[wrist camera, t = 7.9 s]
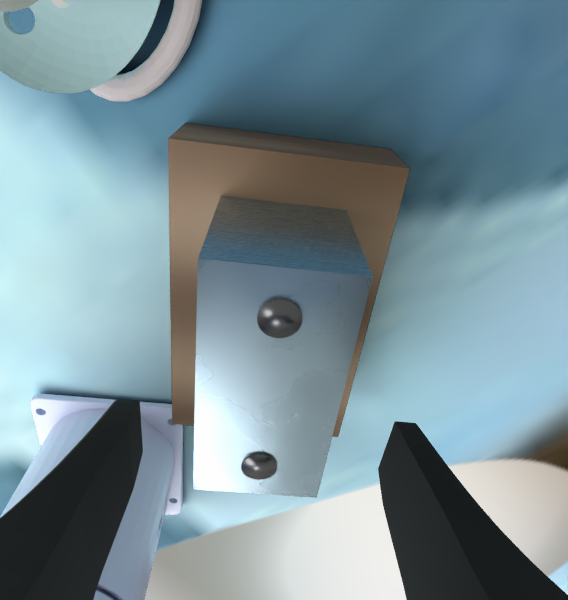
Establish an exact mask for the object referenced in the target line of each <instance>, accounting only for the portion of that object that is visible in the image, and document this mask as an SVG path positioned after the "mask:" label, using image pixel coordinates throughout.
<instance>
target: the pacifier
mask: <svg viewBox="0 0 568 600" xmlns="http://www.w3.org/2000/svg"><path fill="white" fill-rule="evenodd" d="M160 2H161V0H0V70H1V71H3V72H4V73H5V74H6V75H8V76H9V77H10V78H12V79H14V80H16V81H17V82H19V83H21V84H22V85H25V86H28V87H30V88H33V89H36V90H40V91H45V92H51V93H66V94H67V93H77V92H83V91H86V90H89V89H90V90H91V91H92V92H93V93H94V94H95V95H97V96H100V97H102V98H105V99H107V100H110V101H131V100H134V99H137V98H140V97H143V96H146V95H147V94H149V93H150V92H152V91H153V90H154V89H156V88H157V87H159V86H160V85H162V84H163V83H164V81H165V80H166V79H167V78H168V77H169V76H170V75H171V73H172V72H173V71H174V70H175V69H176V68H177V66H178V65H179V63H180V61H181V59H182V58H183V56H184V54H185V52H186V51H187V49H188V47H189V45H190V43H191V40H192V37H193V34H194V32H195V29H196V26H197V23H198V20H199V16H200V10H201V5H202V0H175V1H174V7H173V12H172V15H171V18H170V21H169V24H168V27H167V30H166V32H165V33H164V35H163V37H162V39H161V41H160V43H159V45H158V47H157V48H156V49H155V50H154V52H153V53H152V54H151V55H150V57H149V58H148V59H147V60H146V61H145V62H144V63H142V64H141V65H140V66H139V67H137V68H136V69H135V70H133V71H130V72H128V73H119V72H120V71H121V70H122V69H123V68H124V67H125V66H126V65H127V64H128V63H129V62H130V61H131V59H132V58H133V57H134V55H135V54H136V53H137V52H138V50H139V49H140V47H141V46H142V44H143V43H144V41H145V39H146V37H147V35H148V33H149V31H150V29H151V27H152V25H153V22H154V20H155V17H156V14H157V11H158V8H159V5H160ZM27 7H28V8H30V9H31V11H32V12H33V14H34V17H35V25H34V28H33V29H32V30H31V31H30V32H29V33H27V34H20V33H18V32H16V31H15V30H14V29H13V28H12V27H11V25H10V23H9V20H8V14H9V11H17V10H21V9H24V8H27ZM117 73H118V74H117Z"/></svg>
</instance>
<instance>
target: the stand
mask: <svg viewBox="0 0 568 600" xmlns="http://www.w3.org/2000/svg"><path fill="white" fill-rule="evenodd" d="M168 152H169V227H170V303H171V378H172V424H179V425H192V426H194V413H195V366H196V318H197V270H198V257H199V254H200V251H201V248H202V246H203V243H204V240H205V238H206V235H207V232H208V229H209V227H210V224H211V221H212V218H213V216H214V213H215V210H216V208H217V205H218V202H219V199H220V197H221V196H229V197H237V198H246V199H255V200H264V201H272V202H281V203H290V204H299V205H307V206H316V207H325V208H334V209H343V210H347V212H348V215H349V217H350V220H351V223H352V225H353V228H354V230H355V233H356V235H357V238H358V240H359V243H360V245H361V248H362V250H363V253H364V255H365V258H366V261H367V263H368V266H369V268H370V271H371V273H372V276H373V278H372V282H371V286H370V290H369V294H368V298H367V302H366V306H365V310H364V314H363V318H362V322H361V325H360V329H359V333H358V337H357V341H356V345H355V349H354V353H353V357H352V361H351V365H350V369H349V373H348V376H347V380H346V384H345V388H344V392H343V396H342V400H341V404H340V408H339V412H338V416H337V420H336V424H335V427H334V431H333V435H332V436H333V437H338V436H339V432H340V428H341V425H342V421H343V417H344V413H345V410H346V406H347V402H348V398H349V395H350V391H351V387H352V384H353V380H354V376H355V372H356V369H357V365H358V361H359V357H360V354H361V350H362V346H363V342H364V339H365V335H366V331H367V328H368V324H369V320H370V316H371V313H372V309H373V305H374V301H375V298H376V294H377V290H378V286H379V283H380V279H381V275H382V272H383V268H384V264H385V260H386V257H387V253H388V249H389V245H390V242H391V238H392V234H393V230H394V227H395V223H396V219H397V216H398V212H399V208H400V204H401V201H402V197H403V193H404V189H405V186H406V182H407V178H408V174H409V171H410V168H409V167H408V166H407V165H406V164H405V163H404V162H403V161H402V160H401V159H400V158H399V157H398V156H397V155H396V154H395V153H394V152H393V151H392V150H391V149H387V148H379V147H371V146H364V145H356V144H348V143H340V142H332V141H324V140H316V139H308V138H301V137H293V136H285V135H277V134H269V133H261V132H253V131H245V130H238V129H230V128H222V127H214V126H206V125H198V124H190V123H185V124H184V125H183V126H181V127H180V128H179V129H178V130H177V131H176V132H175V133H174V134H173V135H172V136H170V137H169V138H168Z"/></svg>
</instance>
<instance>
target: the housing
mask: <svg viewBox="0 0 568 600" xmlns="http://www.w3.org/2000/svg"><path fill="white" fill-rule="evenodd" d="M372 278H373V276H372V273H371V271H370V268H369V266H368V263H367V261H366V258H365V255H364V253H363V250H362V248H361V245H360V243H359V240H358V238H357V235H356V233H355V230H354V228H353V225H352V223H351V220H350V217H349V215H348V212H347V210H343V209H334V208H325V207H316V206H307V205H299V204H290V203H281V202H272V201H264V200H255V199H246V198H237V197H229V196H221V197H220V199H219V202H218V205H217V208H216V210H215V213H214V216H213V218H212V221H211V224H210V227H209V229H208V232H207V235H206V238H205V240H204V243H203V246H202V248H201V251H200V254H199V257H198V270H197V318H196V366H195V413H194V461H193V489H196V490H211V491H226V492H241V493H256V494H271V495H286V496H301V497H316V498H317V494H318V490H319V486H320V482H321V478H322V475H323V471H324V467H325V463H326V459H327V455H328V451H329V447H330V443H331V439H332V435H333V431H334V427H335V424H336V420H337V416H338V412H339V408H340V404H341V400H342V396H343V392H344V388H345V384H346V380H347V376H348V373H349V369H350V365H351V361H352V357H353V353H354V349H355V345H356V341H357V337H358V333H359V329H360V325H361V322H362V318H363V314H364V310H365V306H366V302H367V298H368V294H369V290H370V286H371V282H372Z"/></svg>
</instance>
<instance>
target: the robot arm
mask: <svg viewBox="0 0 568 600" xmlns="http://www.w3.org/2000/svg"><path fill="white" fill-rule="evenodd" d="M30 405H31V409H32V414H33V418H34V422H35V426H36V430H37V434H38V438H39V443H40V449H39V451H38V453H37V454H36V456H35V458H34V460H33V461H32V463H31V465H30V466H29V468H28V470H27V472H26V473H25V475H24V477H23V478H22V480H21V482H20V484H19V485H18V487H17V489H16V490H15V492H14V494H13V496H12V497H11V499H10V501H9V502H8V504H7V506H6V508H5V509H4V511H3V513H2V515H1V516H0V600H144V599H145V595H146V591H147V587H148V582H149V578H150V574H151V570H152V566H153V561H154V557H155V553H156V549H157V545H158V541H159V536H160V532H161V528H162V524H163V520H164V516H165V514H173V515H174V514H179V513H180V512H181V510H182V500H183V425H179V424H172V420H171V419H172V404H163V403H151V402H140V401H132V400H119V399H117V400H113V399H101V398H89V397H76V396H64V395H52V394H36V395H34V397H33V398H32V399H31V401H30ZM43 409H44V410H43ZM378 470H379V478H380V486H381V494H382V500H383V506H384V510H385V514H386V518H387V522H388V526H389V530H390V534H391V538H392V542H393V546H394V549H395V553H396V558H397V561H398V565H399V569H400V573H401V577H402V581H403V585H404V589H405V594H406V598H407V600H568V595H567V594H566V593H565V592H564V591H562V590H561V589H560V588H559V587H558V586H557V585H556V584H555V583H554V582H553V581H551V580H550V579H549V578H548V577H547V576H546V575H545V574H544V573H543V572H542V571H541V570H539V568H537V566H535V565H534V564H533V563H532V562H531V561H530V560H529V559H528V558H527V557H526V556H525V555H524V554H523V553H522V552H521V551H520V550H519V548H518V547H516V546H515V544H513V543H512V541H511V540H510V539H509V538H508V537H507V536H506V535H505V534H504V533H503V532H502V531H501V530H500V529H499V528H498V526H496V524H495V523H494V522H493V521H492V520H491V519H490V517H489V516H488V515H487V514H486V513H485V512H484V511H483V509H482V508H481V507H480V506H479V505H478V504H477V502H476V501H475V500H474V499H473V498H472V496H471V495H470V494H469V493H468V491H467V490H466V489H465V488H464V486H463V485H462V484H461V483H460V481H459V480H458V479H457V477H456V476H455V475H454V474H453V472H452V471H451V470H450V469H449V467H448V466H447V465H446V463H445V462H444V461H443V459H442V458H441V457H440V455H439V454H438V453H437V451H436V450H435V448H434V447H433V446H432V444H431V443H430V442H429V440H428V439H427V438H426V436H425V435H424V434H423V432H422V431H421V430H420V428H419V427H418V426H417V424H416V423H407V422H395V423H394V426H393V429H392V431H391V434H390V437H389V440H388V443H387V445H386V448H385V451H384V454H383V457H382V460H381V462H380V465H379V468H378Z"/></svg>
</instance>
